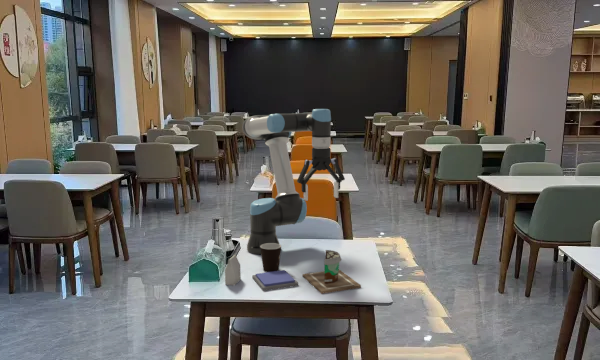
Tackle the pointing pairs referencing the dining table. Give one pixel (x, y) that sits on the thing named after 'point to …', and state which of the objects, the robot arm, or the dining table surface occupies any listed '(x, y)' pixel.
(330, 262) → the food container
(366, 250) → the dining table surface
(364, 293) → the dining table surface
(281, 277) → the ink pad
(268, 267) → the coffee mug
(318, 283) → the marked board
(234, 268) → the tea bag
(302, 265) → the dining table surface
